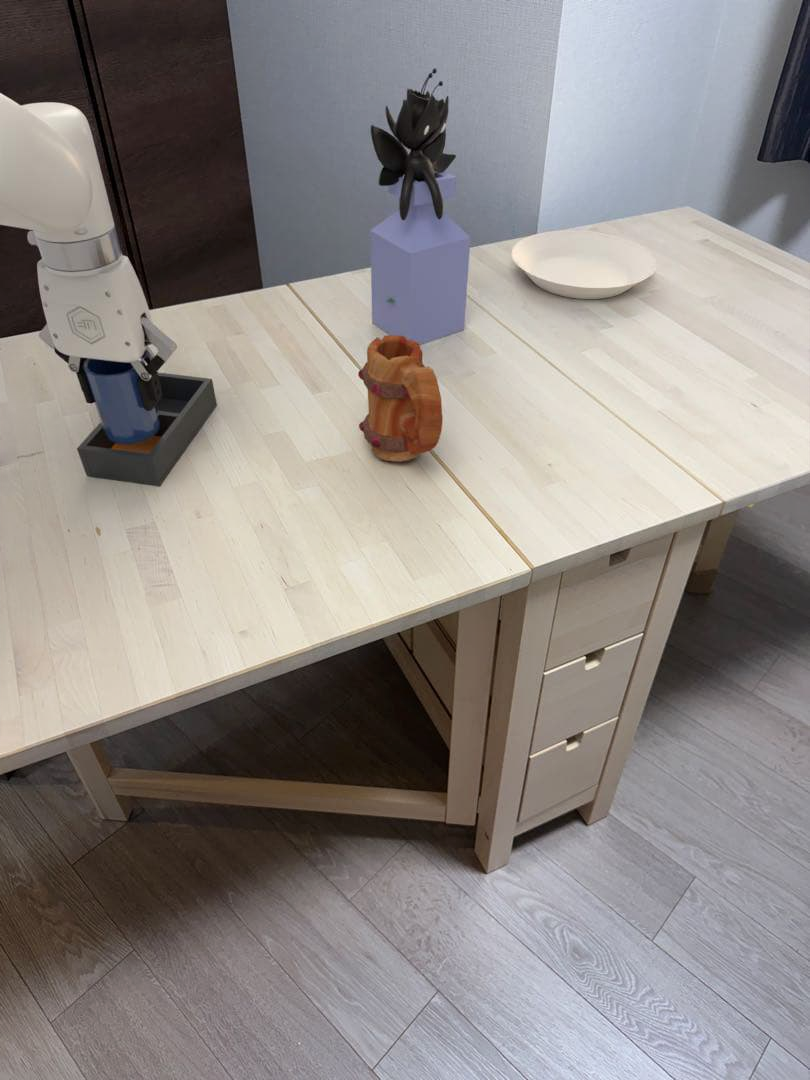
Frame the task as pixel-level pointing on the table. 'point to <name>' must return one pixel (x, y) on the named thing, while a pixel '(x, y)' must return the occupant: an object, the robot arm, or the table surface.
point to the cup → (120, 401)
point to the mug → (400, 400)
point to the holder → (156, 456)
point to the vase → (418, 227)
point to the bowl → (583, 263)
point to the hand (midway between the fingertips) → (124, 399)
